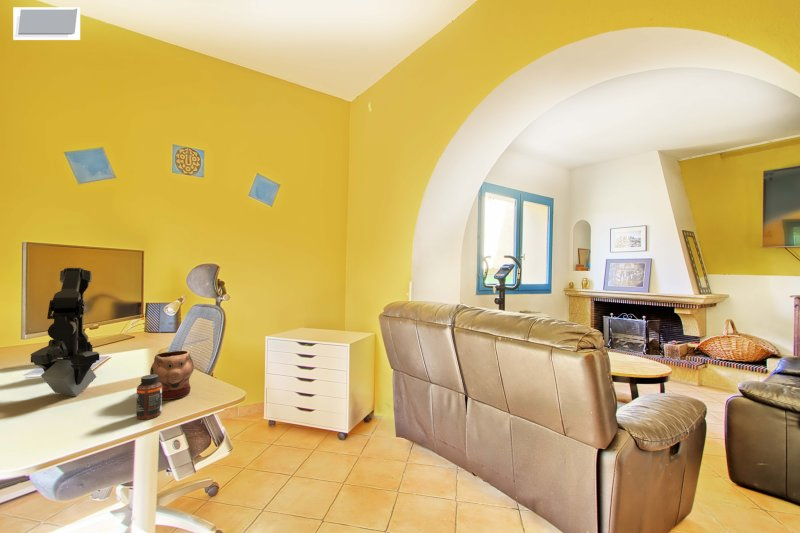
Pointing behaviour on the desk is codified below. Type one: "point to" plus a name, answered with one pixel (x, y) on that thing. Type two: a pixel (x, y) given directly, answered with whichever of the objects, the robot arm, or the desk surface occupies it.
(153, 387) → the supplement bottle
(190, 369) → the decorative planter
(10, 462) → the desk surface
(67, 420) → the desk surface
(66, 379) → the gray cube
